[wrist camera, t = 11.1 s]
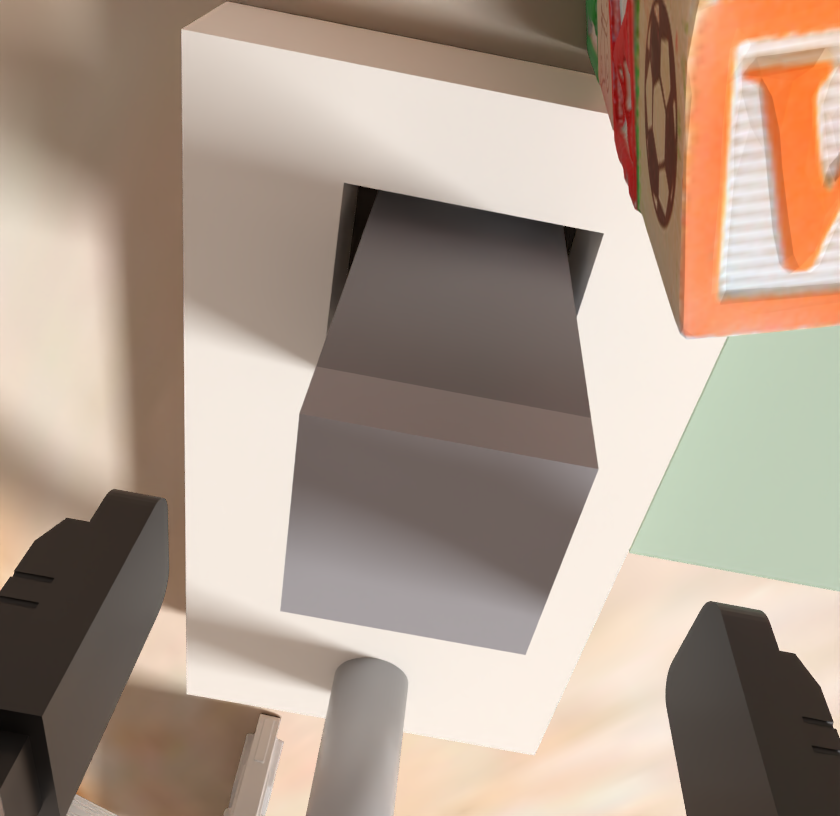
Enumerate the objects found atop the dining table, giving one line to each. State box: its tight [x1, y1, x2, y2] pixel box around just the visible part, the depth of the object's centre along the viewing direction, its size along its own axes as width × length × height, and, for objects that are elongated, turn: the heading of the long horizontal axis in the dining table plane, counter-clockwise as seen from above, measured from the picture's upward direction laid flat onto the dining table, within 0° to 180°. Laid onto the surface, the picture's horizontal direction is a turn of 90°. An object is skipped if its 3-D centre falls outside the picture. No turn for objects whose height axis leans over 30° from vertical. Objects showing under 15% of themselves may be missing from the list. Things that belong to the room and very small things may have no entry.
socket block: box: [181, 1, 727, 816], centre depth 19 cm, size 21×12×10 cm, turn 170°
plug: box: [280, 189, 599, 655], centre depth 16 cm, size 4×4×10 cm
